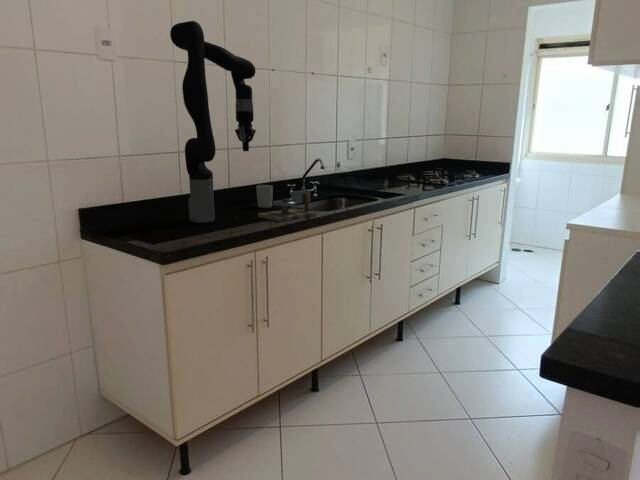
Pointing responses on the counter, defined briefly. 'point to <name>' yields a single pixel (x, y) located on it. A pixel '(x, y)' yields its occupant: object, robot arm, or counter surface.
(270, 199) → the white cup
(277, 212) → the flange base
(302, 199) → the flange
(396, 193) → the counter surface
